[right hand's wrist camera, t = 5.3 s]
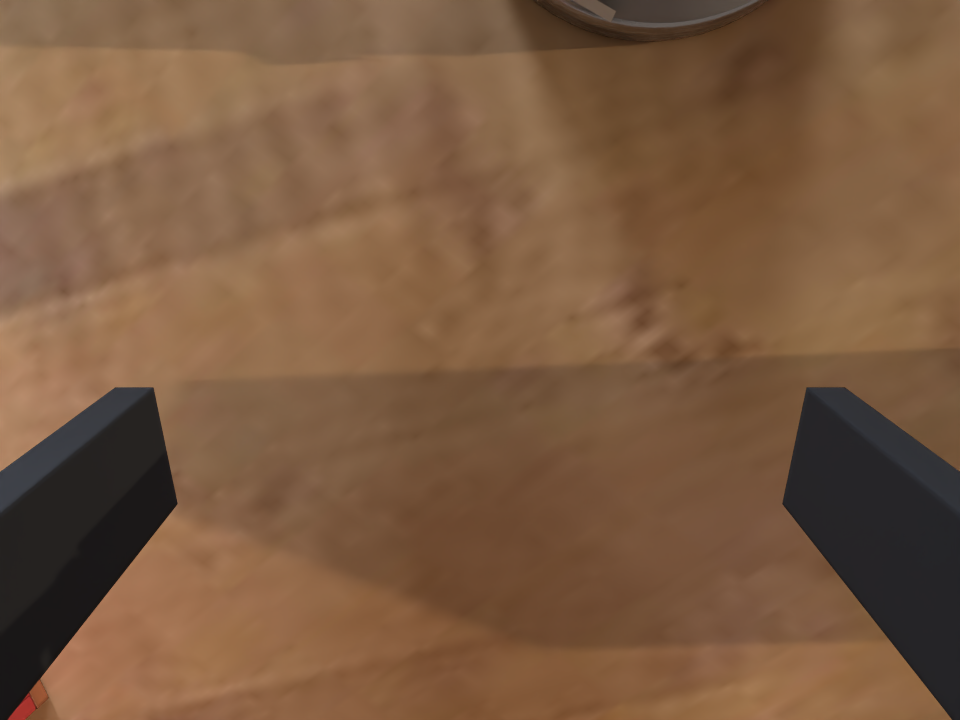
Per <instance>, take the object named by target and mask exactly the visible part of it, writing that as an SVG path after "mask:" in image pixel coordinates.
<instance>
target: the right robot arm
mask: <svg viewBox="0 0 960 720" xmlns="http://www.w3.org/2000/svg"><path fill="white" fill-rule="evenodd" d="M534 1H535V2H537V3H538V4H539V5H541V6H542V7H544V8H545V9H546V10H548V11H549V12H551V13H552V14H554V15H556V16H557V17H559V18H561V19H563V20H565V21H567V22H568V23H570V24H573V25H575V26H577V27H580V28H582V29H585V30H587V31H590V32H593V33H597V34H600V35H603V36H607V37H612V38H618V39H623V40H634V41H666V40H673V39H681V38H686V37H690V36H694V35H699V34H702V33H705V32H708V31H711V30H714V29H717V28H720V27H722V26H724V25H727V24H729V23H731V22H733V21H735V20H737V19H739V18H741V17H743V16H745V15H746V14H748V13H750V12H752V11H753V10H755V9H757V8H758V7H759V6H761V5H762V4H764V3H765V2H766V1H768V0H534ZM176 505H177V499H176V494H175V489H174V484H173V480H172V475H171V470H170V465H169V460H168V456H167V451H166V446H165V441H164V436H163V431H162V427H161V422H160V417H159V412H158V407H157V403H156V398H155V393H154V388H114V389H113V390H111V391H110V392H108V393H107V394H106V395H104V396H103V397H102V398H100V399H99V400H98V401H96V402H95V403H93V404H92V405H91V406H89V407H88V408H87V409H85V410H84V411H83V412H81V413H80V414H78V415H77V416H76V417H74V418H73V419H72V420H70V421H69V422H68V423H66V424H65V425H63V426H62V427H61V428H59V429H58V430H57V431H55V432H54V433H53V434H51V435H50V436H48V437H47V438H46V439H44V440H43V441H42V442H40V443H39V444H38V445H36V446H35V447H33V448H32V449H31V450H29V451H28V452H27V453H25V454H24V455H23V456H21V457H20V458H18V459H17V460H16V461H14V462H13V463H12V464H10V465H9V466H8V467H6V468H5V469H4V470H2V471H1V472H0V720H8V719H9V717H10V716H11V715H12V714H13V712H14V711H15V710H16V708H17V707H18V706H19V705H20V703H21V702H22V701H23V700H24V698H25V697H26V696H27V695H28V693H29V692H30V691H31V689H32V688H33V687H34V686H35V684H36V683H37V682H38V681H39V679H40V678H41V677H42V675H43V674H44V673H45V672H46V670H47V669H48V668H49V667H50V665H51V664H52V663H53V661H54V660H55V659H56V658H57V656H58V655H59V654H60V653H61V651H62V650H63V649H64V648H65V646H66V645H67V644H68V642H69V641H70V640H71V639H72V637H73V636H74V635H75V634H76V632H77V631H78V630H79V628H80V627H81V626H82V625H83V623H84V622H85V621H86V620H87V618H88V617H89V616H90V615H91V613H92V612H93V611H94V609H95V608H96V607H97V606H98V604H99V603H100V602H101V601H102V599H103V598H104V597H105V595H106V594H107V593H108V592H109V590H110V589H111V588H112V587H113V585H114V584H115V583H116V581H117V580H118V579H119V578H120V576H121V575H122V574H123V573H124V571H125V570H126V569H127V568H128V566H129V565H130V564H131V562H132V561H133V560H134V559H135V557H136V556H137V555H138V554H139V552H140V551H141V550H142V548H143V547H144V546H145V545H146V543H147V542H148V541H149V540H150V538H151V537H152V536H153V535H154V533H155V532H156V531H157V529H158V528H159V527H160V526H161V524H162V523H163V522H164V521H165V519H166V518H167V517H168V515H169V514H170V513H171V512H172V510H173V509H174V508H175V507H176ZM783 505H784V507H785V508H786V509H787V510H788V512H789V513H790V514H791V515H792V517H793V518H794V519H795V521H796V522H797V523H798V524H799V526H800V527H801V528H802V529H803V531H804V532H805V533H806V535H807V536H808V537H809V538H810V540H811V541H812V542H813V543H814V545H815V546H816V547H817V548H818V550H819V551H820V552H821V554H822V555H823V556H824V557H825V559H826V560H827V561H828V562H829V564H830V565H831V566H832V568H833V569H834V570H835V571H836V573H837V574H838V575H839V576H840V578H841V579H842V580H843V581H844V583H845V584H846V585H847V587H848V588H849V589H850V590H851V592H852V593H853V594H854V595H855V597H856V598H857V599H858V601H859V602H860V603H861V604H862V606H863V607H864V608H865V609H866V611H867V612H868V613H869V615H870V616H871V617H872V618H873V620H874V621H875V622H876V623H877V625H878V626H879V627H880V628H881V630H882V631H883V632H884V634H885V635H886V636H887V637H888V639H889V640H890V641H891V642H892V644H893V645H894V646H895V648H896V649H897V650H898V651H899V653H900V654H901V655H902V656H903V658H904V659H905V660H906V661H907V663H908V664H909V665H910V667H911V668H912V669H913V670H914V672H915V673H916V674H917V675H918V677H919V678H920V679H921V681H922V682H923V683H924V684H925V686H926V687H927V688H928V689H929V691H930V692H931V693H932V695H933V696H934V697H935V698H936V700H937V701H938V702H939V703H940V705H941V706H942V707H943V708H944V710H945V711H946V712H947V714H948V715H949V716H950V717H951V719H952V720H960V472H959V471H958V470H956V469H955V468H954V467H952V466H951V465H950V464H948V463H947V462H946V461H944V460H943V459H942V458H940V457H939V456H937V455H936V454H935V453H933V452H932V451H931V450H929V449H928V448H927V447H925V446H924V445H922V444H921V443H920V442H918V441H917V440H916V439H914V438H913V437H912V436H910V435H909V434H907V433H906V432H905V431H903V430H902V429H901V428H899V427H898V426H897V425H895V424H894V423H892V422H891V421H890V420H888V419H887V418H886V417H884V416H883V415H882V414H880V413H879V412H877V411H876V410H875V409H873V408H872V407H871V406H869V405H868V404H867V403H865V402H864V401H862V400H861V399H860V398H858V397H857V396H856V395H854V394H853V393H852V392H850V391H849V390H847V389H846V388H806V393H805V398H804V403H803V407H802V412H801V417H800V422H799V427H798V431H797V436H796V441H795V446H794V451H793V456H792V460H791V465H790V470H789V475H788V480H787V484H786V489H785V494H784V499H783Z"/></svg>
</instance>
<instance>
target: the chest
mask: <svg viewBox="0 0 960 720" xmlns="http://www.w3.org/2000/svg"><path fill="white" fill-rule="evenodd" d="M47 699H48V696H47V694H46V692H45V690H44V687H43V685H42V683H41V681H40V679H39V681H38V682H37V683H36V684H35V686H34V687H33V688H32V689H31V691H30V692H29V693H28V695H27V696H26V697H25V698H24V700H23V701H22V702H21V703H20V705H19V706H18V707H17V708H16V710H15V711H14V712H13V714H12V715H11V716H10V717H9V719H8V720H25V719H26V718H27V717H28V716H29V715H30V714H31V713H32V712H33V711H34V710H35V709H38V708H39V707H40V706H41V705H42V704H43V703H44V702H45V701H46V700H47Z"/></svg>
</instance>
